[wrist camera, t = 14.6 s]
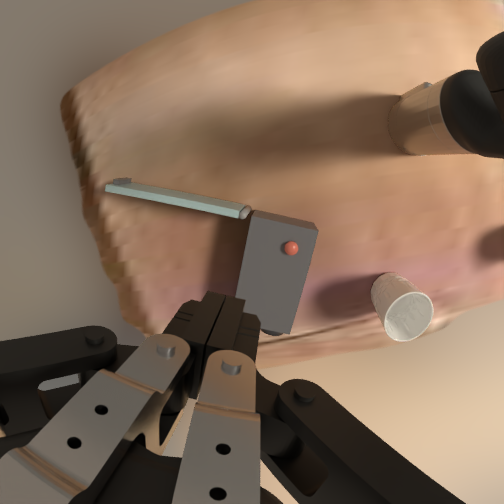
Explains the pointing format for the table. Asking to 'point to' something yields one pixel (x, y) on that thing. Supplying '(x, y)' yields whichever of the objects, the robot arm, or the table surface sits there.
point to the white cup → (401, 307)
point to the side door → (178, 198)
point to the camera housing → (275, 269)
